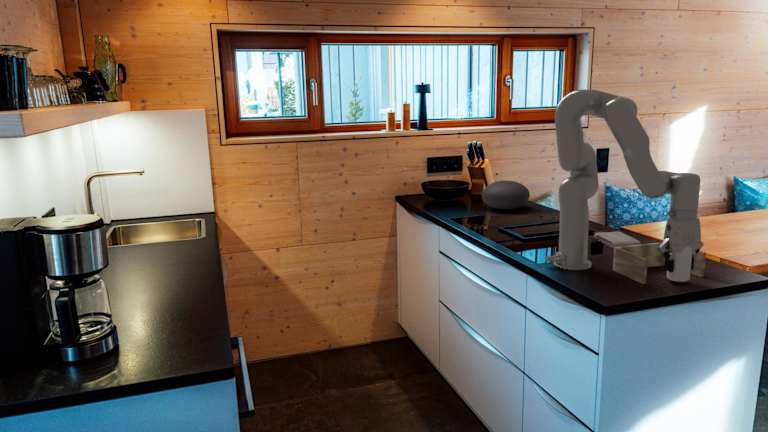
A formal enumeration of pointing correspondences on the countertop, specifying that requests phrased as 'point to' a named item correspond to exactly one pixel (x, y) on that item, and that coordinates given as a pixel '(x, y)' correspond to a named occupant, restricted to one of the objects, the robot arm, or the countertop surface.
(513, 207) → the flattened ellipsoid
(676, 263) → the can
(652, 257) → the wooden u-shaped stand
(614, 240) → the washcloth
